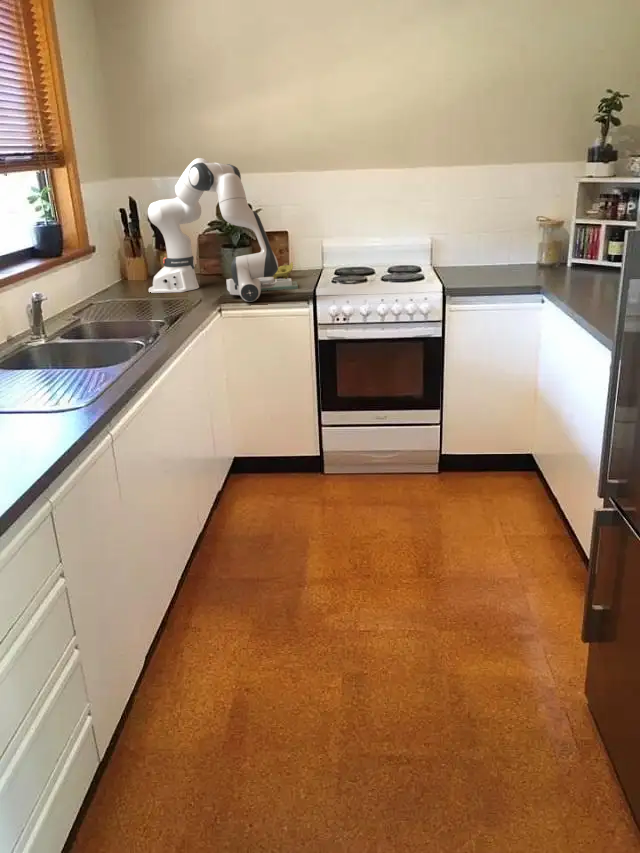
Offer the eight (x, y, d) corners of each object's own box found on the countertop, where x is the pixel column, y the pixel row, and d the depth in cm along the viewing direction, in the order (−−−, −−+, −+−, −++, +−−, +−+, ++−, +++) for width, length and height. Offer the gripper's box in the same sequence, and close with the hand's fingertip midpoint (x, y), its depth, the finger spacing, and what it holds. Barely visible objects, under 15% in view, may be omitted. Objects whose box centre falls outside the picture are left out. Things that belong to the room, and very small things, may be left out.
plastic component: (250, 277, 339) (251, 264, 346) (253, 290, 345) (254, 277, 352) (292, 272, 338) (292, 259, 345) (295, 285, 343) (295, 272, 350)
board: (261, 290, 317) (260, 283, 316) (260, 286, 328) (260, 278, 327) (297, 288, 318) (297, 281, 317) (296, 284, 329) (296, 276, 328)
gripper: (275, 276, 301) (274, 271, 314) (225, 279, 300) (226, 274, 313) (275, 292, 303) (275, 286, 316) (226, 294, 302) (227, 288, 315)
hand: (250, 280), depth 314 cm, fingers open, 8 cm apart
